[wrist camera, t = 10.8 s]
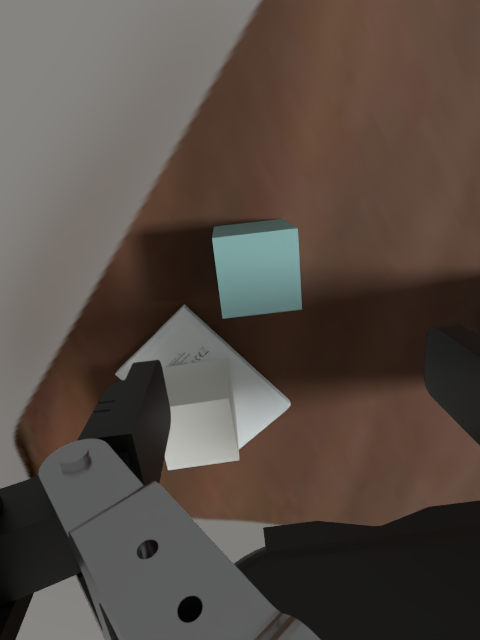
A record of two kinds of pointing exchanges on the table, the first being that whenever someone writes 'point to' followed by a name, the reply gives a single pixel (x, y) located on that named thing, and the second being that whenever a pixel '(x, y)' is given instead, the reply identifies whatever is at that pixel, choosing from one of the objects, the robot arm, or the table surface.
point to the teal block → (257, 268)
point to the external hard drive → (205, 345)
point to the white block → (201, 415)
